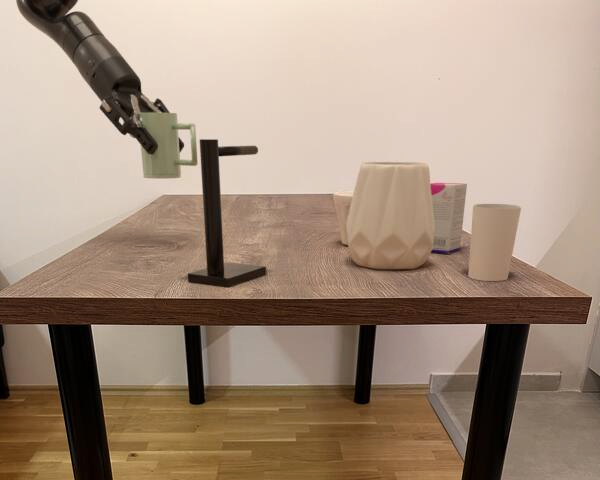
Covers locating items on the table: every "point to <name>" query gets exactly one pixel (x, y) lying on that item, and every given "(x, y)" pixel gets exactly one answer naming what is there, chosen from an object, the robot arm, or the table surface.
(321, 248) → the table surface
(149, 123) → the mug
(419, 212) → the vase
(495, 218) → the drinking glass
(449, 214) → the supplement box
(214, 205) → the mug rack
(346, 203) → the cup
